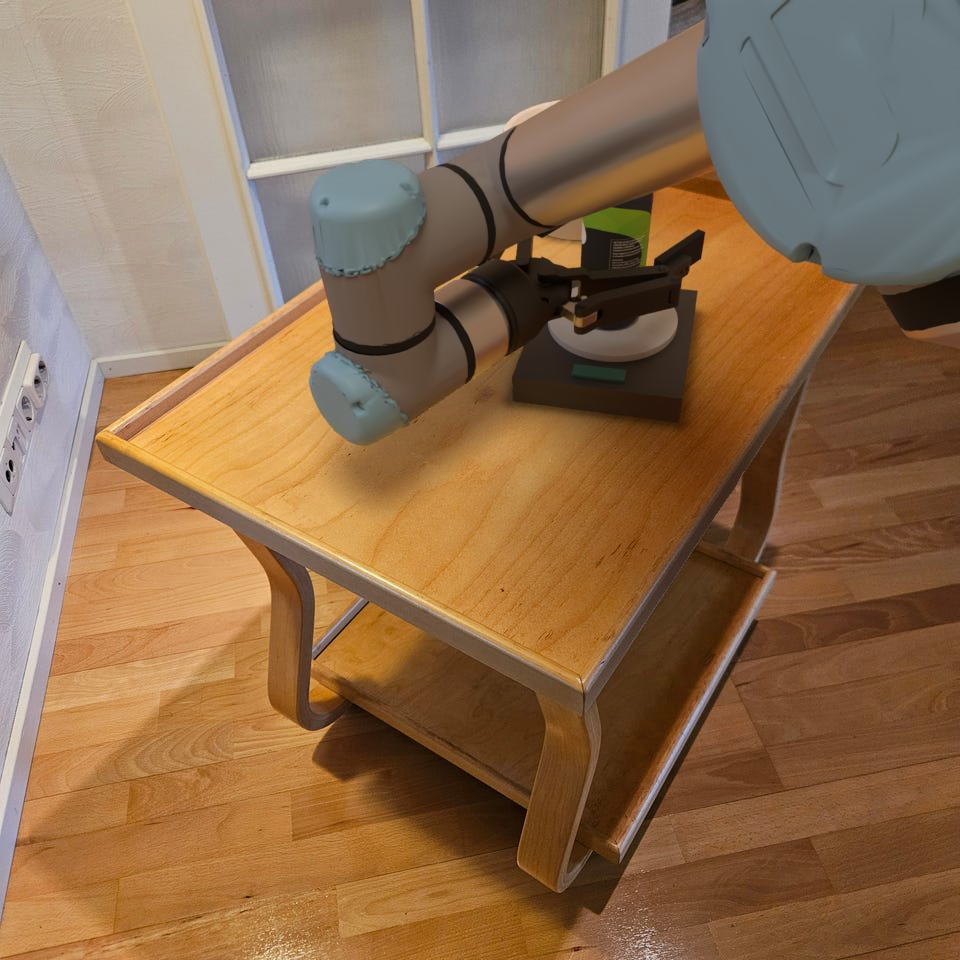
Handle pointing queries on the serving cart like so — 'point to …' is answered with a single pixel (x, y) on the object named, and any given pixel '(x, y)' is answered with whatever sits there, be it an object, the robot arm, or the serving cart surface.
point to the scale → (611, 365)
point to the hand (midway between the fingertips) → (639, 220)
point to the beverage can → (617, 240)
